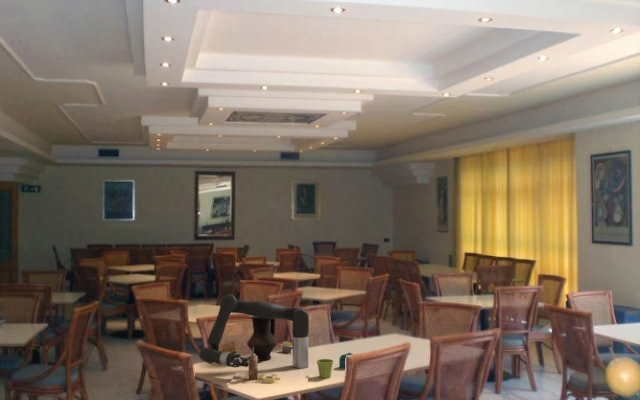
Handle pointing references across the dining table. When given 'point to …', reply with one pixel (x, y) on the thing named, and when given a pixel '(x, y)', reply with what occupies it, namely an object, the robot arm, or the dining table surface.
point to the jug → (262, 337)
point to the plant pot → (325, 367)
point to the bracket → (343, 360)
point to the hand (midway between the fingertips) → (253, 363)
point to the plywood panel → (259, 378)
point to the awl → (253, 366)
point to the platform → (286, 347)
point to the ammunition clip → (228, 347)
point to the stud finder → (269, 379)
